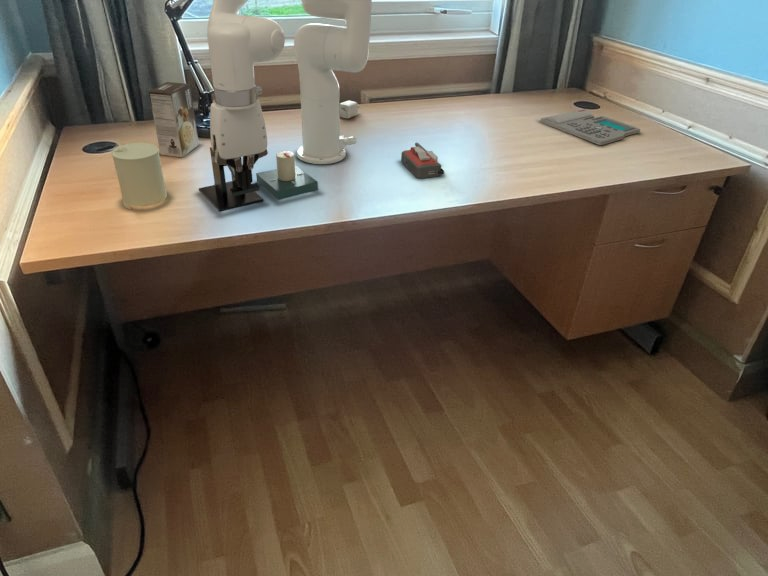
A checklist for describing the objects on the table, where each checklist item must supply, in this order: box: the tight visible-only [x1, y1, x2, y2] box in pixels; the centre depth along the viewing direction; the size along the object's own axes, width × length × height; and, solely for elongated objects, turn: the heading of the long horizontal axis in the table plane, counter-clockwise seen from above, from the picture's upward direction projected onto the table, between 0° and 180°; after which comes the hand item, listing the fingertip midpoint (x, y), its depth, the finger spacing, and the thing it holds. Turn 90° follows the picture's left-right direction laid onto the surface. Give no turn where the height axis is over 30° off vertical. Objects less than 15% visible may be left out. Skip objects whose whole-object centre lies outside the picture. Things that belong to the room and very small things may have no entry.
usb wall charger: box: [339, 99, 361, 119], centre depth 178 cm, size 4×7×4 cm, turn 145°
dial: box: [275, 150, 296, 181], centre depth 131 cm, size 4×4×6 cm
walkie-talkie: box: [400, 142, 445, 179], centre depth 148 cm, size 9×4×20 cm
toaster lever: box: [224, 165, 260, 197], centre depth 122 cm, size 12×6×2 cm, turn 35°
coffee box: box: [148, 81, 200, 158], centre depth 146 cm, size 9×6×16 cm
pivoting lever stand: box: [198, 146, 264, 213], centre depth 125 cm, size 12×10×12 cm
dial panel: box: [255, 164, 319, 201], centre depth 133 cm, size 10×11×3 cm
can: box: [111, 142, 168, 211], centre depth 123 cm, size 9×9×12 cm
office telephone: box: [540, 109, 641, 146], centre depth 177 cm, size 23×3×20 cm
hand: (244, 186), depth 119 cm, fingers closed
